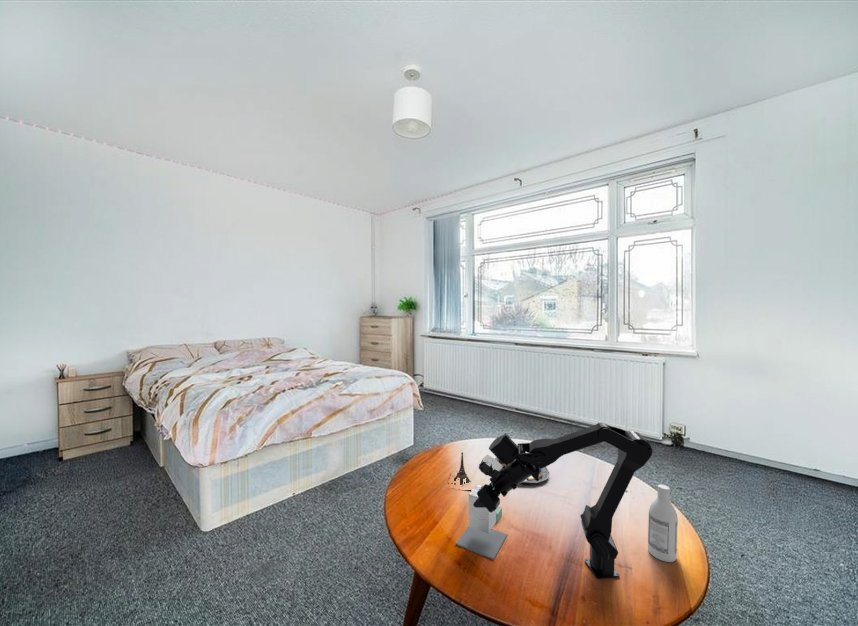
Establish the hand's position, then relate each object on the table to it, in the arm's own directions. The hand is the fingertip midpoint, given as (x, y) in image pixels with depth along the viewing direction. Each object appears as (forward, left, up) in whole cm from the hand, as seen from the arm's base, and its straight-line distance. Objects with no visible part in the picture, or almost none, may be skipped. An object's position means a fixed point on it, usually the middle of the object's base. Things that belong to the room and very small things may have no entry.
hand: (478, 500), depth 107 cm
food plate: (+41, -28, -13) cm, 51 cm away
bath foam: (-11, -52, -12) cm, 55 cm away
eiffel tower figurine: (+35, -1, -13) cm, 38 cm away
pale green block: (+10, -8, -12) cm, 18 cm away
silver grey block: (-1, -1, -7) cm, 7 cm away
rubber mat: (-1, -1, -12) cm, 12 cm away
